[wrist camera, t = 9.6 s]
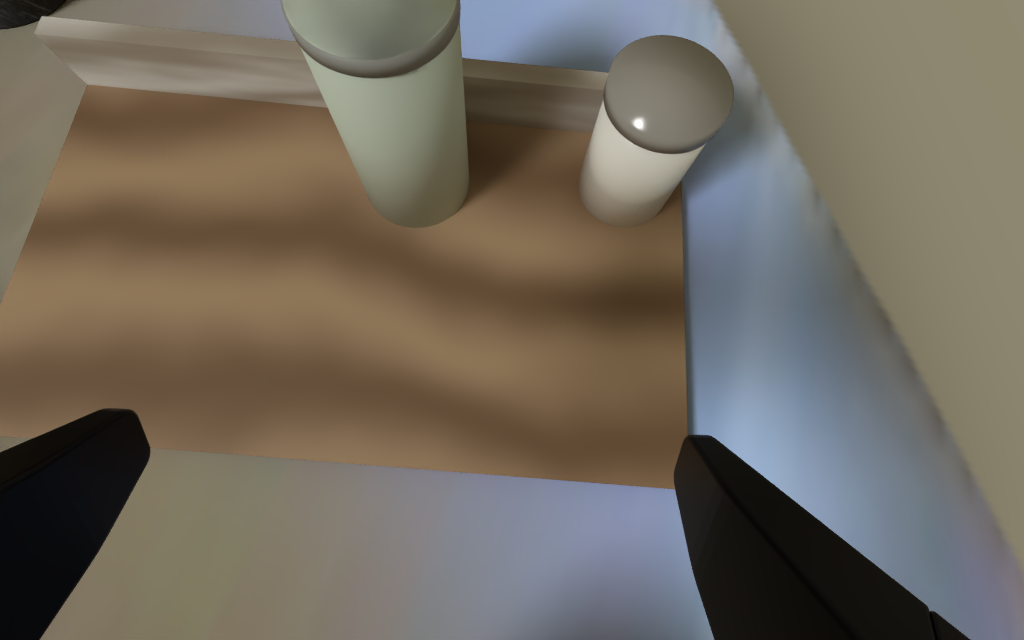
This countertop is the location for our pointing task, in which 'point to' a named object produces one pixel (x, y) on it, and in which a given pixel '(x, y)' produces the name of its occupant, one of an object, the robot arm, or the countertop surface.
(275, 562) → the countertop surface
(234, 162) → the shelf board
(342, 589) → the countertop surface
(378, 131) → the tea tin
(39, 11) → the travel mug
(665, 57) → the salt jar
